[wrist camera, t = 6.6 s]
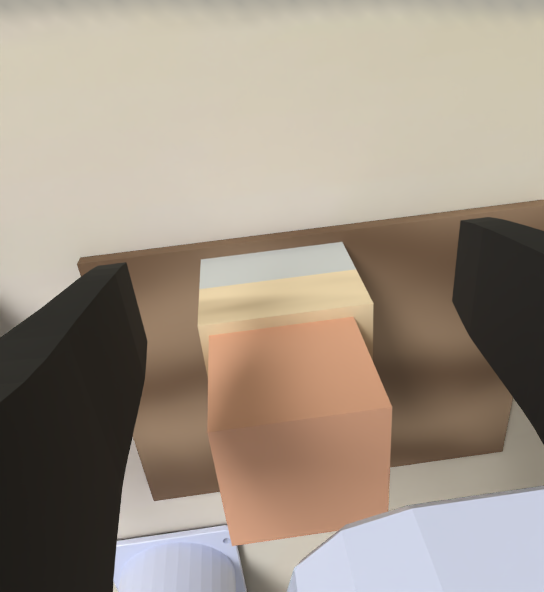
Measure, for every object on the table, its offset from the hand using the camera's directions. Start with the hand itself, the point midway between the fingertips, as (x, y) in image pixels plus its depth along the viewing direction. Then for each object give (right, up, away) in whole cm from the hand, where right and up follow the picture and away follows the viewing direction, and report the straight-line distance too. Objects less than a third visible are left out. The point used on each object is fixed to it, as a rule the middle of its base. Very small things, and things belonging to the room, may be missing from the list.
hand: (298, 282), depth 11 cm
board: (+2, -4, +15) cm, 15 cm away
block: (0, -3, +8) cm, 8 cm away
